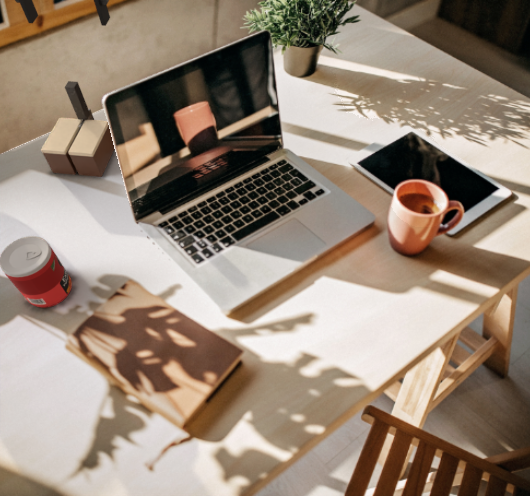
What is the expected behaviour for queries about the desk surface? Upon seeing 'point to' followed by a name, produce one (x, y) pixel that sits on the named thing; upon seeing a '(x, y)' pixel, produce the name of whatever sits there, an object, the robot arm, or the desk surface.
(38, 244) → the canned food
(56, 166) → the cake
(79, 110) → the slicer
